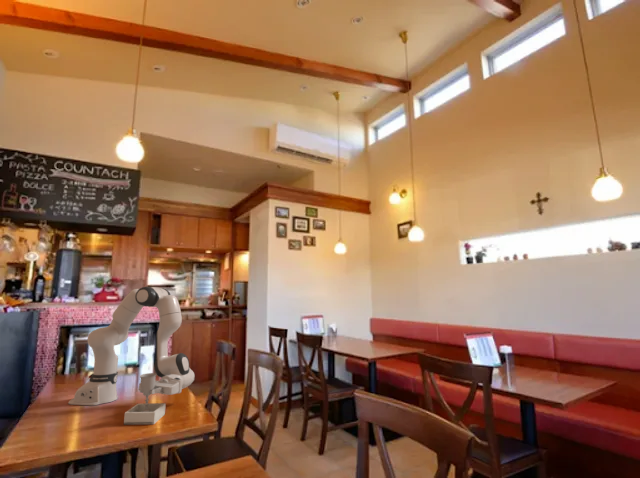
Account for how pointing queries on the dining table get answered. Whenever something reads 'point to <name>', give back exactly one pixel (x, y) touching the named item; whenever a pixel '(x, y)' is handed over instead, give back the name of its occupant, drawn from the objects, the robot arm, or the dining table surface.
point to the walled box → (144, 414)
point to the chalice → (147, 386)
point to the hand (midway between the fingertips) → (145, 391)
